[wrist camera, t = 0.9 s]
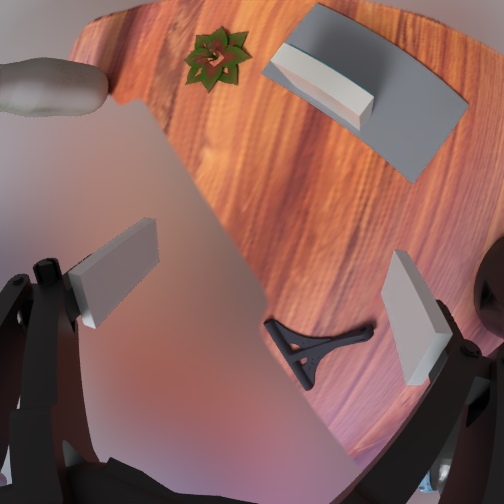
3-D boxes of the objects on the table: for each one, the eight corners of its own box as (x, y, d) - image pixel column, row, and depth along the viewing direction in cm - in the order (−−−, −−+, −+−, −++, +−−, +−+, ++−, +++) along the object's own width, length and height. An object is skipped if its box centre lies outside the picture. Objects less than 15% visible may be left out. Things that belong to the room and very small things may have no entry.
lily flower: (247, 97, 35) (233, 89, 31) (177, 94, 38) (159, 89, 34) (261, 25, 31) (249, 12, 27) (192, 29, 34) (175, 20, 30)
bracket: (387, 360, 38) (388, 371, 36) (306, 385, 45) (302, 396, 42) (352, 283, 37) (351, 291, 35) (265, 319, 44) (259, 328, 42)
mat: (467, 106, 24) (469, 105, 23) (411, 183, 30) (412, 184, 30) (317, 4, 27) (316, 3, 26) (262, 74, 33) (260, 73, 32)
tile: (372, 114, 29) (375, 94, 20) (359, 130, 30) (359, 116, 21) (306, 70, 30) (285, 40, 21) (294, 86, 31) (270, 60, 23)
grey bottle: (83, 95, 45) (-34, 94, 20) (110, 60, 40) (-15, 43, 16) (95, 126, 46) (-34, 135, 21) (124, 91, 41) (-18, 80, 16)
